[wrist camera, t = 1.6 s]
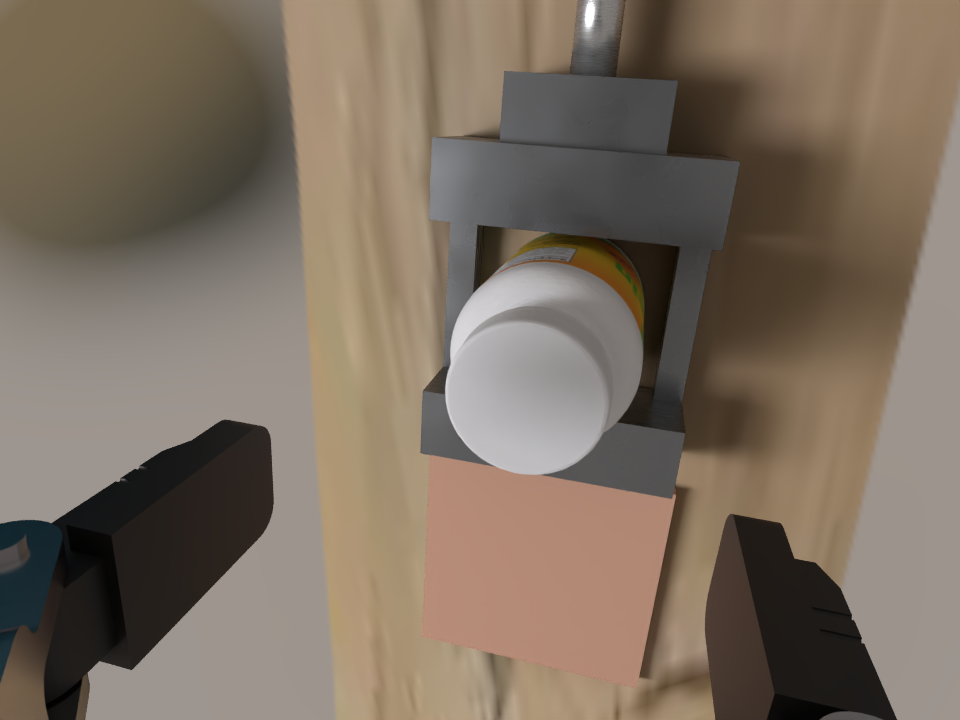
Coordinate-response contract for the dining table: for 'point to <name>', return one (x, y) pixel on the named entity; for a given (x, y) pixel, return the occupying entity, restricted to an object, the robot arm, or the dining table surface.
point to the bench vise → (587, 225)
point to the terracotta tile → (542, 568)
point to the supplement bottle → (547, 354)
